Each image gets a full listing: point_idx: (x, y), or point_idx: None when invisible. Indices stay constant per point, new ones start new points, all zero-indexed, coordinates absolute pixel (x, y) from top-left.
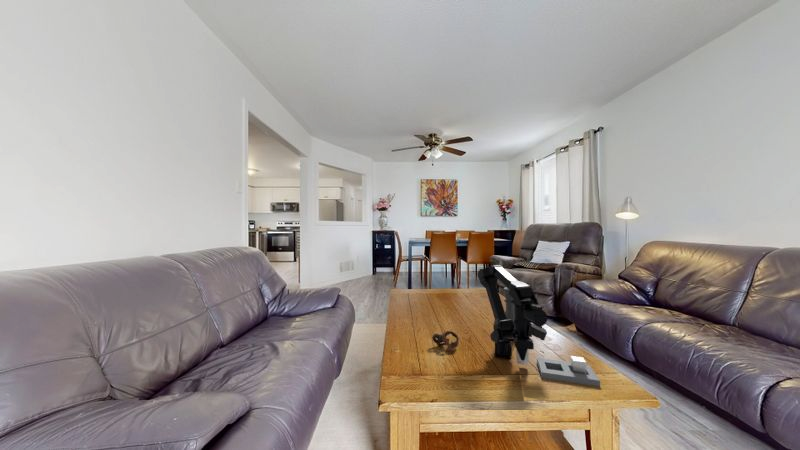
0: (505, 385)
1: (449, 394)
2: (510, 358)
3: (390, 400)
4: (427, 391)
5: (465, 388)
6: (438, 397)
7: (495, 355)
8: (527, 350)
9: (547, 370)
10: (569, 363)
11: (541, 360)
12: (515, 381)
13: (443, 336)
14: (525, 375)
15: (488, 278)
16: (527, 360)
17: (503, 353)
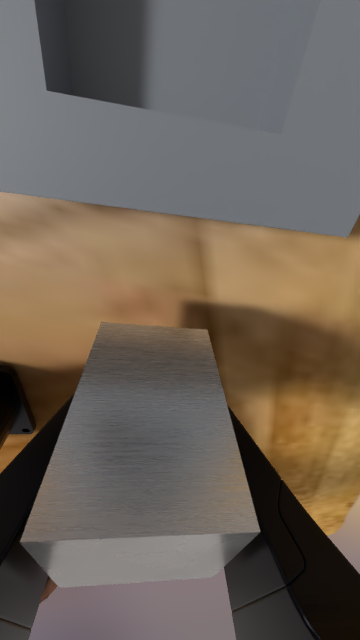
0: (320, 402)
1: (337, 493)
2: (10, 370)
3: (333, 533)
4: (315, 513)
5: (316, 477)
6: (344, 502)
7: (22, 430)
8: (244, 500)
9: (321, 140)
10: None
11: (5, 132)
12: (292, 368)
13: (45, 596)
14: (226, 314)
15: None
16: (211, 366)
17: (2, 423)
